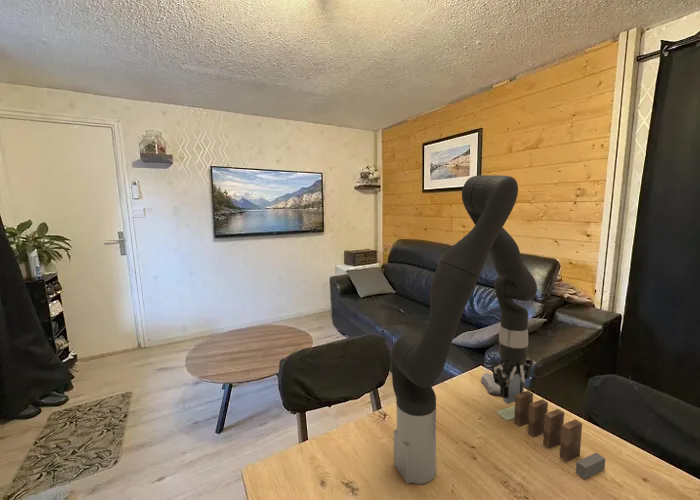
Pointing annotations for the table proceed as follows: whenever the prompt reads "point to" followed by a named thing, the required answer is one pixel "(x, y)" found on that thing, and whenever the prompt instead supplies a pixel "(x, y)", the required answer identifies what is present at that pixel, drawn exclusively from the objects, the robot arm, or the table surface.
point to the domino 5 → (570, 440)
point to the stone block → (491, 384)
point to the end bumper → (590, 465)
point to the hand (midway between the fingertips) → (511, 394)
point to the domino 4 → (553, 428)
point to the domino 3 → (537, 417)
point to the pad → (507, 413)
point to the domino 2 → (522, 408)
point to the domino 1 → (513, 388)
